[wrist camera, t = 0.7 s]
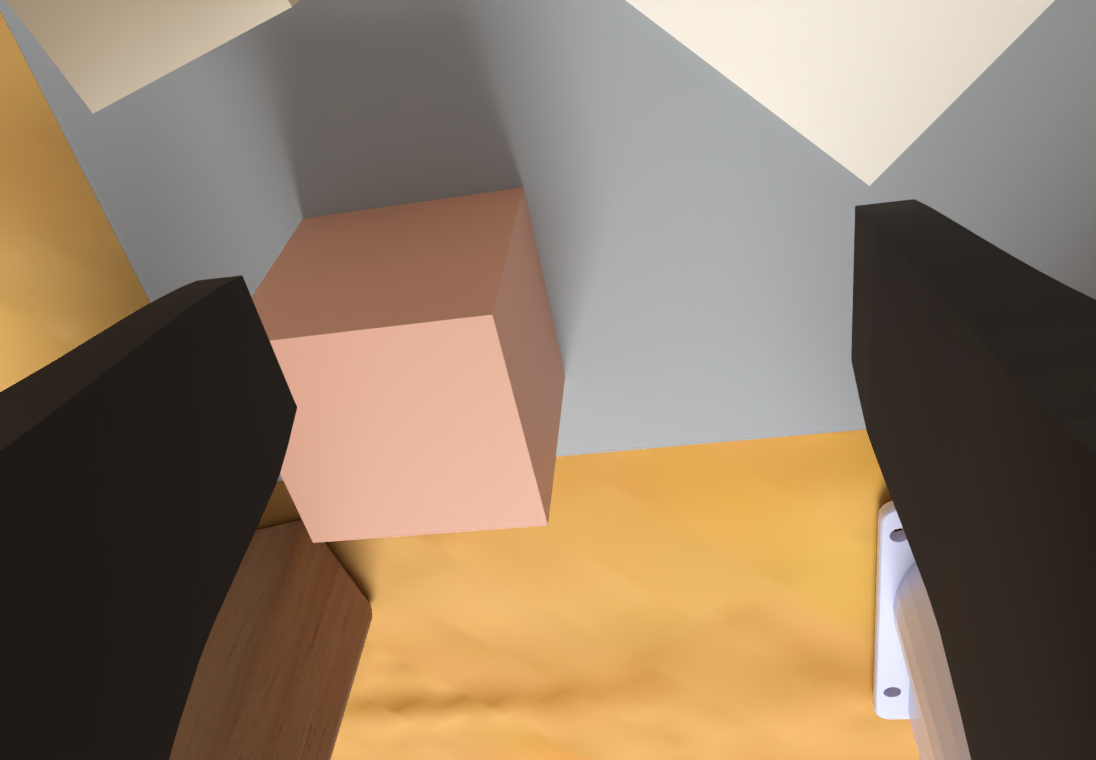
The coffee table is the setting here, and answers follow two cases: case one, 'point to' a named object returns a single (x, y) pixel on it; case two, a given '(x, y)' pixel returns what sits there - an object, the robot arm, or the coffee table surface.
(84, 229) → the coffee table surface
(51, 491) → the robot arm
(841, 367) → the arena board
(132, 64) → the ash block
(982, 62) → the pad
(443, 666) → the coffee table surface
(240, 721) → the wooden block
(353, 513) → the terracotta cube
